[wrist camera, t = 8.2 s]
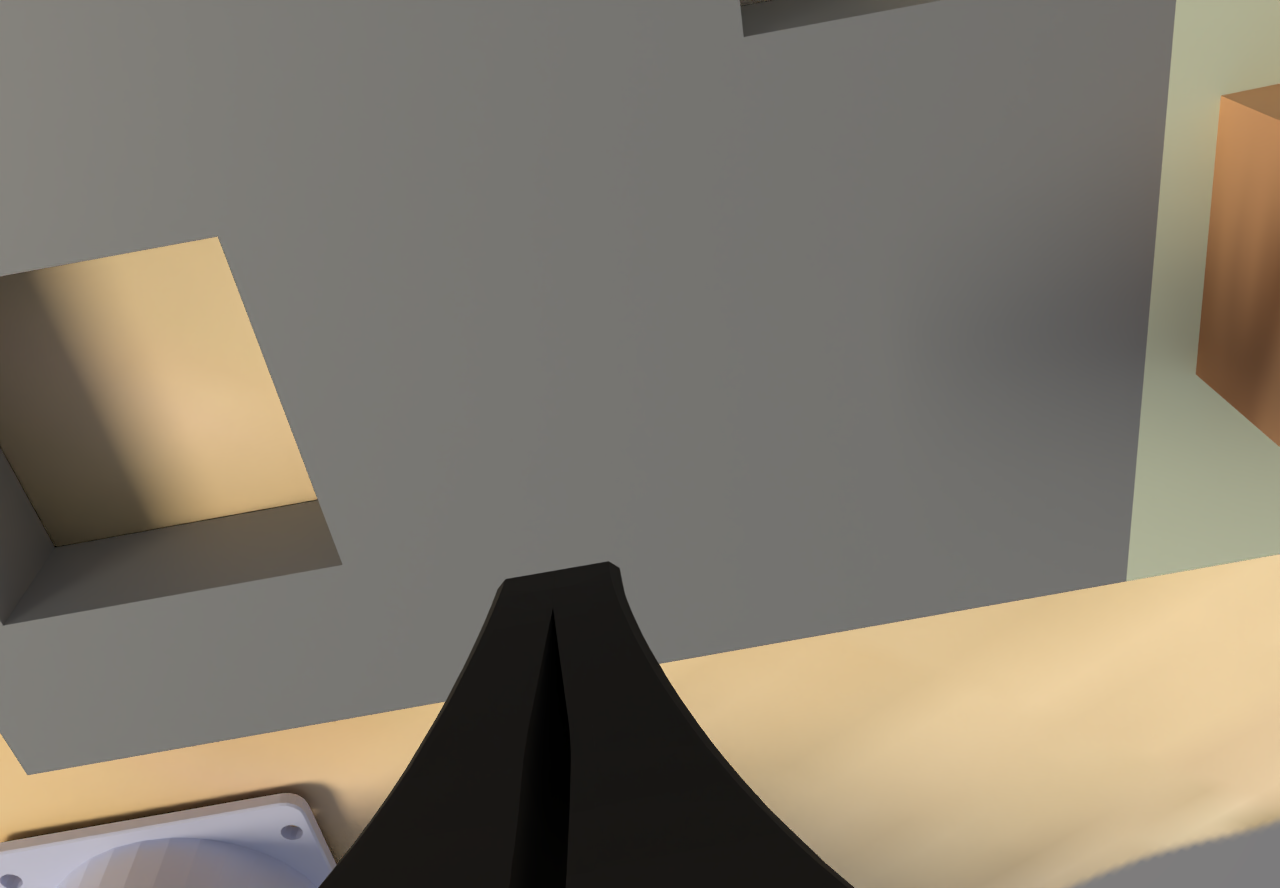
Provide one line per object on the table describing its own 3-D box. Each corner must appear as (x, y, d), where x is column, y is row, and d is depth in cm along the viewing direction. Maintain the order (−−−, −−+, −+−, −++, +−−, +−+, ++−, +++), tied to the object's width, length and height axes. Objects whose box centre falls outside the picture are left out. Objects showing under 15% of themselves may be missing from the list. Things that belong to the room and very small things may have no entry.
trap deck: (1400, 454, 24) (1543, 562, 21) (73, 690, 24) (-5, 834, 21) (1707, -871, 14) (2095, -1097, 10) (-576, -421, 14) (-932, -495, 11)
